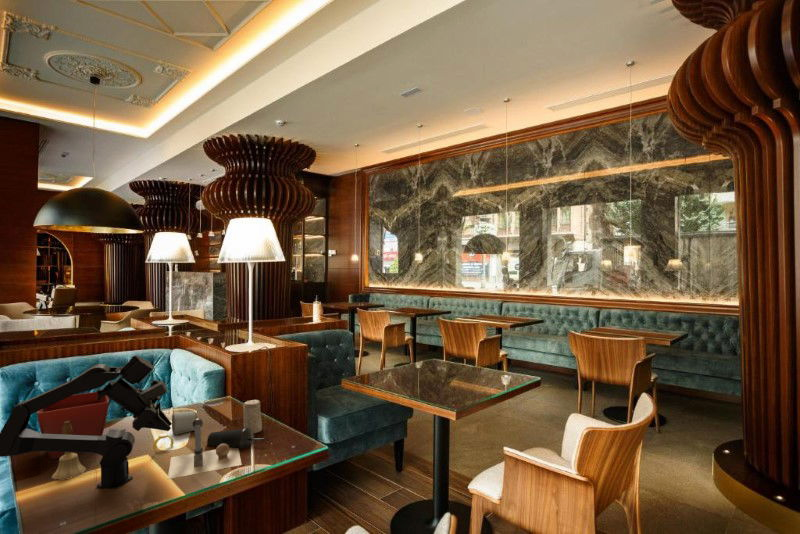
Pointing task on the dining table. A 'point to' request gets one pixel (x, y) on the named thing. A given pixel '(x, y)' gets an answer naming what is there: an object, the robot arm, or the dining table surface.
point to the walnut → (222, 451)
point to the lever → (197, 434)
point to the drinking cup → (232, 438)
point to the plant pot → (75, 417)
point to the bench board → (202, 462)
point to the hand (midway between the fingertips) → (170, 427)
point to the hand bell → (68, 460)
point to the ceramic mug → (183, 422)
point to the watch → (160, 438)
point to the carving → (252, 415)
